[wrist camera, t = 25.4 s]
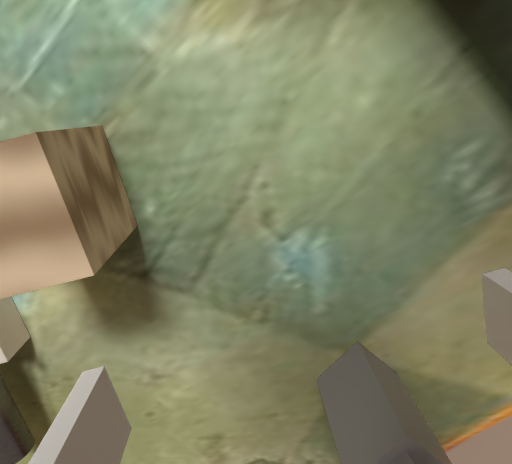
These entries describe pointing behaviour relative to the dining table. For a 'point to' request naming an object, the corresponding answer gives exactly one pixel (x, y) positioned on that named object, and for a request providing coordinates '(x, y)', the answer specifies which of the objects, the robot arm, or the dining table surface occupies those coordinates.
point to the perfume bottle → (375, 414)
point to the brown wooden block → (59, 208)
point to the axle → (12, 429)
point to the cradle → (10, 330)
